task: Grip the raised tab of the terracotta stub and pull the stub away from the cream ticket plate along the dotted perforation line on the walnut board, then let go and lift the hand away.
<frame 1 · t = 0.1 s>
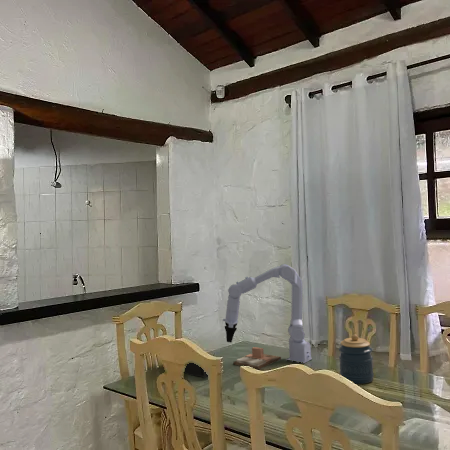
hand: (229, 340, 210), 10 cm above the table, tool pointing down, fingers open, 7 cm apart
stub: (257, 353, 210), point 4 cm above the table, slide at 0.0 cm
ticket board: (257, 361, 209), on the table
canister: (356, 379, 181), on the table
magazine: (186, 372, 199), on the table
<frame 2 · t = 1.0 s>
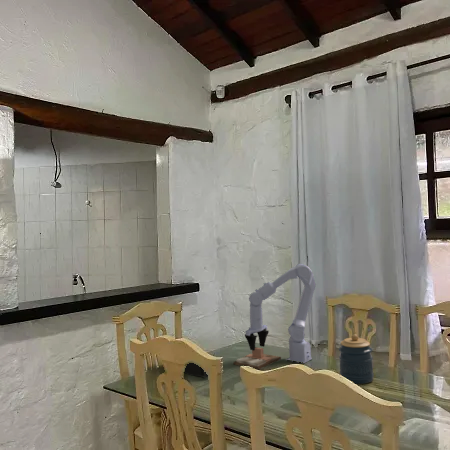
hand: (257, 348, 210), 6 cm above the table, tool pointing down, fingers open, 7 cm apart
nothing on the table moved.
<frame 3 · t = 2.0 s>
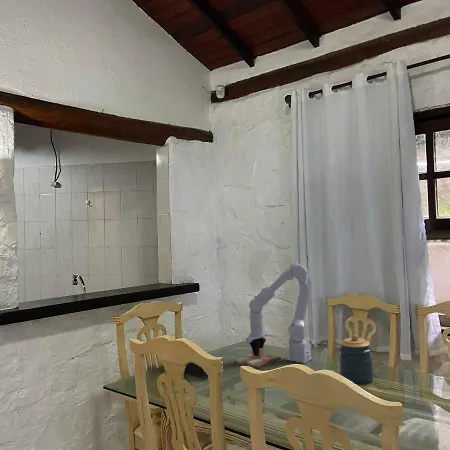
hand: (257, 354, 210), 3 cm above the table, tool pointing down, fingers closed on stub, 2 cm apart
stub: (257, 353, 210), point 4 cm above the table, slide at 0.0 cm, touching gripper
everything else where it was.
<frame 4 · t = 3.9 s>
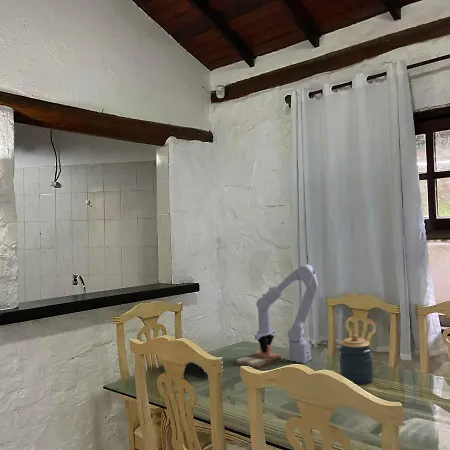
hand: (265, 351, 215), 3 cm above the table, tool pointing down, fingers closed on stub, 2 cm apart
stub: (265, 350, 215), point 4 cm above the table, slide at 6.5 cm, touching gripper
everything else where it was.
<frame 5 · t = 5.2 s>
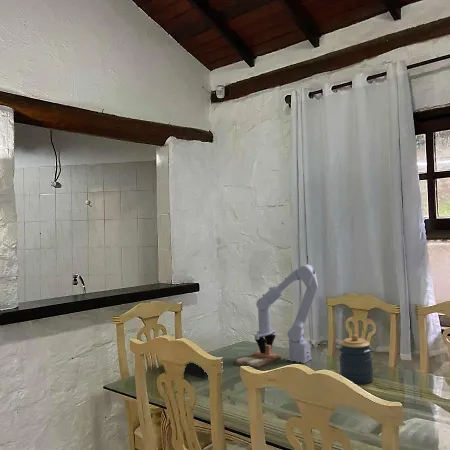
hand: (265, 351, 215), 3 cm above the table, tool pointing down, fingers open, 5 cm apart
stub: (265, 350, 215), point 4 cm above the table, slide at 6.5 cm
everything else where it was.
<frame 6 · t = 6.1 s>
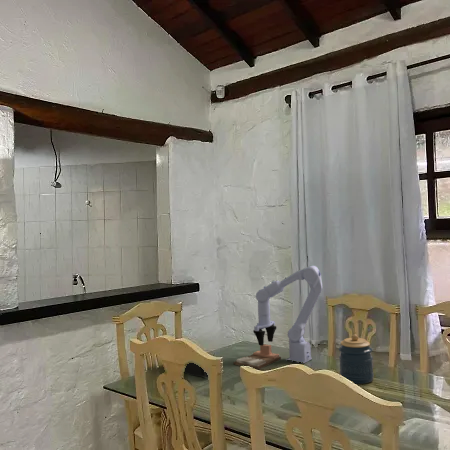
hand: (265, 343, 215), 7 cm above the table, tool pointing down, fingers open, 7 cm apart
nothing on the table moved.
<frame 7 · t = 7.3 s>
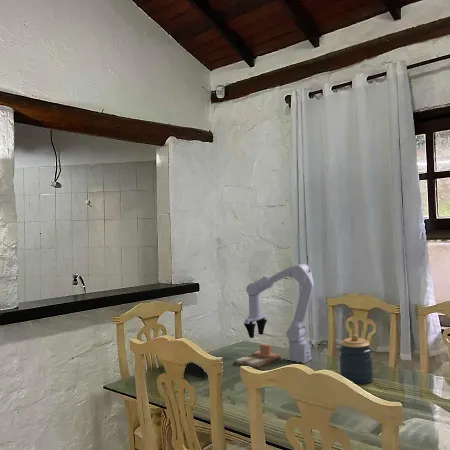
hand: (256, 336, 219), 9 cm above the table, tool pointing down, fingers open, 7 cm apart
nothing on the table moved.
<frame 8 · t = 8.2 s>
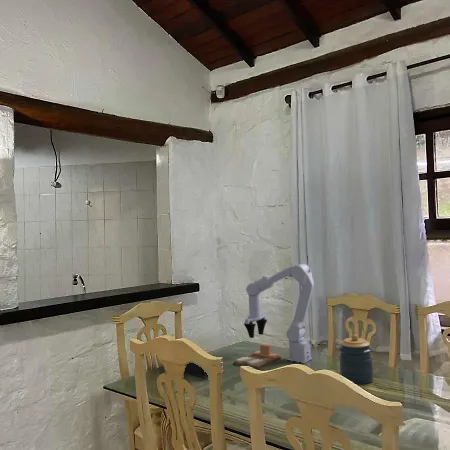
hand: (256, 336, 219), 9 cm above the table, tool pointing down, fingers open, 7 cm apart
nothing on the table moved.
at the end: stub slide at 6.5 cm; the gripper is holding nothing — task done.
